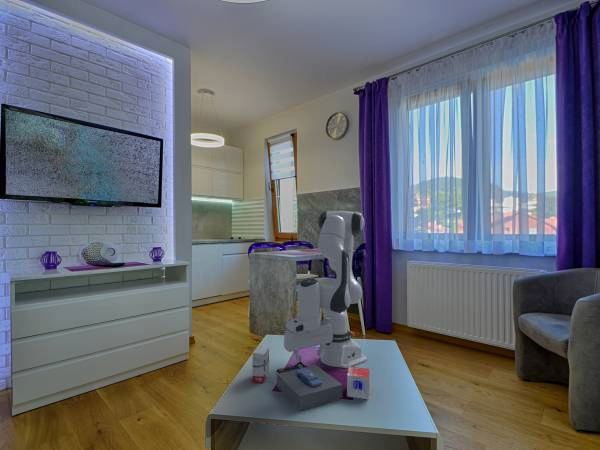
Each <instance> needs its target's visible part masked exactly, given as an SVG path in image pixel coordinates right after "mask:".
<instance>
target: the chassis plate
mask: <svg viewBox="0 0 600 450" xmlns="http://www.w3.org/2000/svg"><path fill="white" fill-rule="evenodd" d="M304 368H305V369H306V370H308V369H309V370H310V371H311V372H313V373H314V374H315V375H317V376H318V379H319V380H320V381H321V382H322V385H318V386H314V387H313V386H311V385H309V386H307V385H306V384H305V383H304V382H303V381H301V380H300V375H299V374H297V373H296V370H300V369H304ZM304 368H300V369H296V370H291V371H287V372H283V373H278V372H277V373H276V388H277V389H279V390H280V392H281V393H282V394H283V395H284V396H285V397H286V398H287V399H288V400H289V402H290V403H291V404H292V406H294V407H295V408H296V409H297V410H298V411H299V412H301V411H304V410H307V409H311V408H315V407H318V406H320V405H324V404H327V403H331V402H334V401H337V400H341V399H343V384H342V383H341V382H340V381H338V379H335V378H334V377H333V376H331V374H329V373H327V372H326V371H325V370H324V369H322V368H321V367H319V366H318V365H316V364H312V365H309V366H306V367H304Z"/></svg>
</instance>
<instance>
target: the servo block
mask: <svg viewBox="0 0 600 450" xmlns="http://www.w3.org/2000/svg"><path fill="white" fill-rule="evenodd" d="M296 373H297V374H299V375H300V380H301V381H303V382H304V383H305V384H306V385H307V386H309V385H311V386H313V387H314V386H318V385H322V382H321V381H320V380H319V379H318V376H317V375H315V374H314V373H313V372H311V371H310V370H309V369H308V370H306V369H305V368H304V369H300V370H296Z"/></svg>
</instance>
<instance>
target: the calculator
mask: <svg viewBox="0 0 600 450" xmlns="http://www.w3.org/2000/svg"><path fill="white" fill-rule="evenodd" d="M304 367H307V366H306V365H305V364H304V363H303V362H302V360H301V361H298V362H297V363H296V364H294V365H293V366H290V367H284V368H283V367H282V368H277V369H276V372H277V374H278V373H283V372H287V371H291V370H296V369H300V368H304Z"/></svg>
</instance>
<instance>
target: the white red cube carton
mask: <svg viewBox="0 0 600 450" xmlns="http://www.w3.org/2000/svg"><path fill="white" fill-rule="evenodd" d="M347 369H348V371H347V375H346V396H347V397H351V398H357V399H365V400H369V399H370V398H369V396H370V395H369V394H370V368H366V367H365V368H364V367H357V366H352V367H350V366H349V368H347Z"/></svg>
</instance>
